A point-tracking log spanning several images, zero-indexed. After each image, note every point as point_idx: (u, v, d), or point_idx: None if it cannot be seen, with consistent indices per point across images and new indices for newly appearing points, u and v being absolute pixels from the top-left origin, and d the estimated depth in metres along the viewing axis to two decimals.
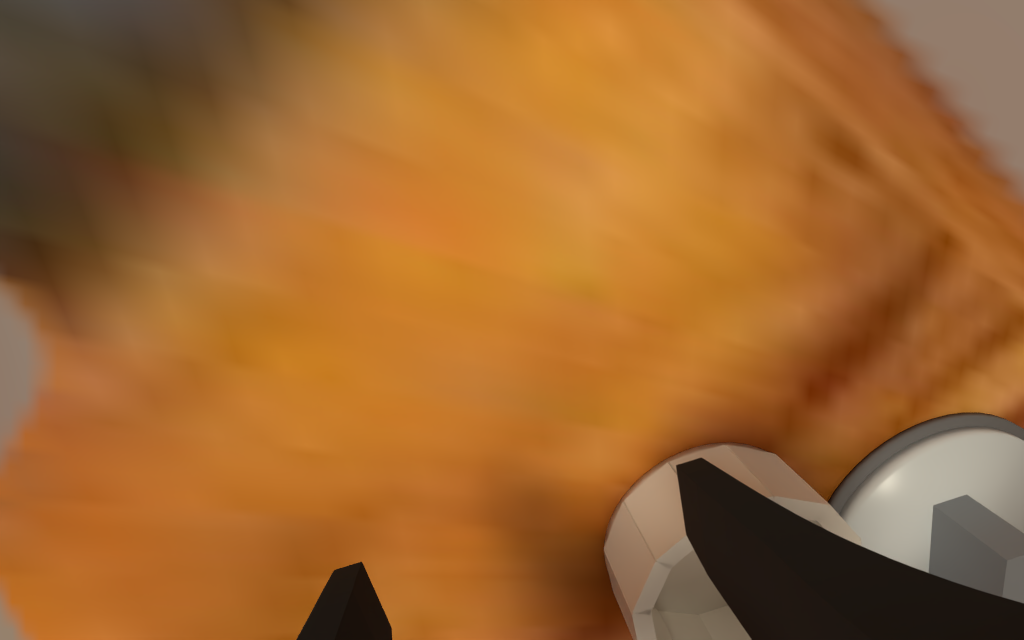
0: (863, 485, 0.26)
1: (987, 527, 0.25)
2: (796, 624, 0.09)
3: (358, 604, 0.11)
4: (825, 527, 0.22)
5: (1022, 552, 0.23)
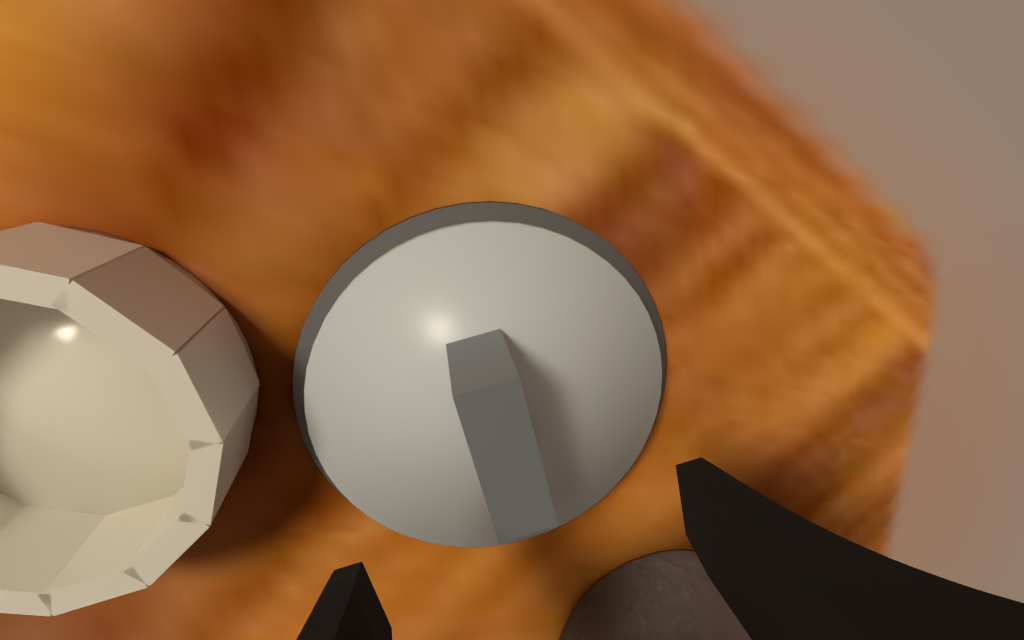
0: (329, 310, 0.17)
1: (478, 361, 0.16)
2: (796, 624, 0.09)
3: (358, 604, 0.11)
4: (84, 324, 0.13)
5: (483, 385, 0.14)
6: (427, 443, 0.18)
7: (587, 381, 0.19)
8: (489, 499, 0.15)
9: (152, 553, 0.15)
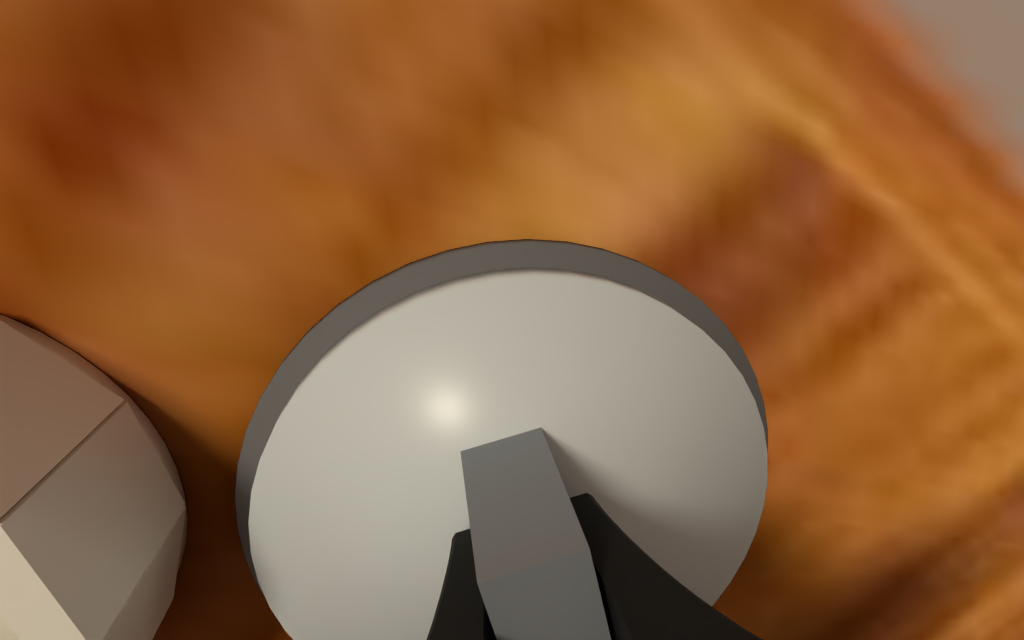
0: (287, 403, 0.11)
1: (513, 497, 0.10)
2: None
3: None
4: None
5: (528, 560, 0.09)
6: (432, 585, 0.13)
7: (662, 494, 0.13)
8: None
9: None
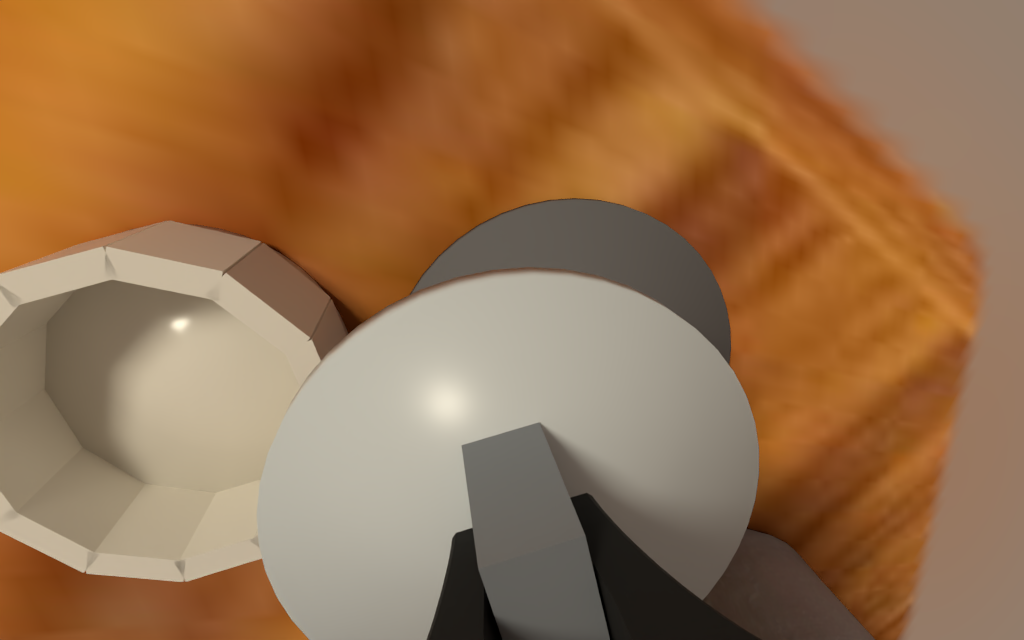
0: (293, 398, 0.12)
1: (512, 488, 0.10)
2: None
3: None
4: (233, 312, 0.14)
5: (527, 547, 0.09)
6: (434, 575, 0.13)
7: (657, 487, 0.13)
8: None
9: None
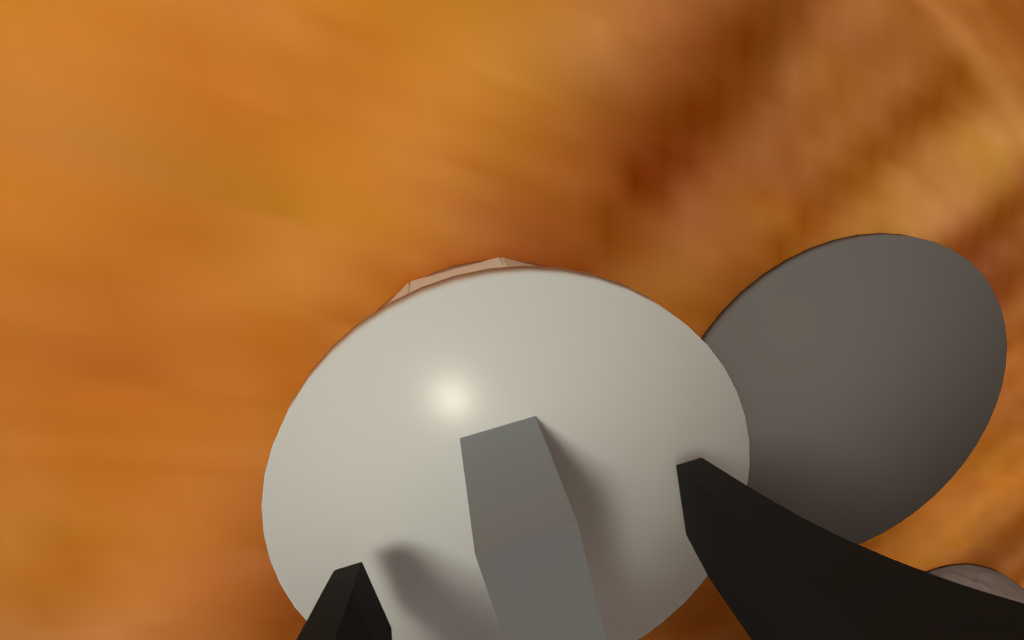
0: (297, 393, 0.12)
1: (508, 478, 0.11)
2: (796, 624, 0.09)
3: (358, 604, 0.11)
4: None
5: (522, 533, 0.09)
6: (433, 565, 0.14)
7: (650, 480, 0.14)
8: None
9: None
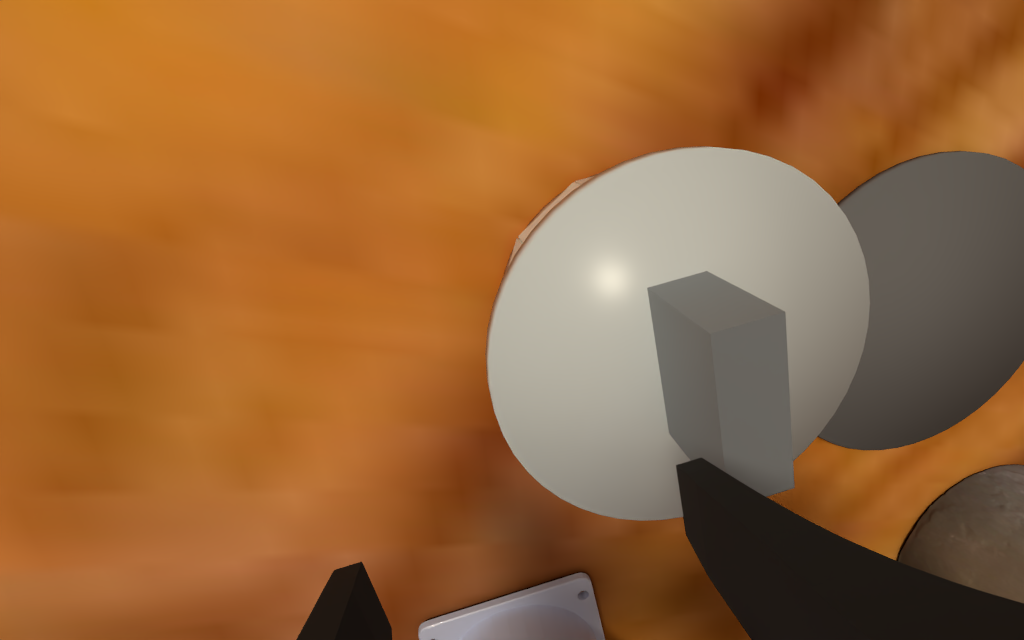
0: (520, 248, 0.15)
1: (709, 300, 0.14)
2: (796, 624, 0.09)
3: (358, 604, 0.11)
4: None
5: (742, 321, 0.12)
6: (613, 402, 0.17)
7: (789, 333, 0.17)
8: (727, 456, 0.13)
9: None
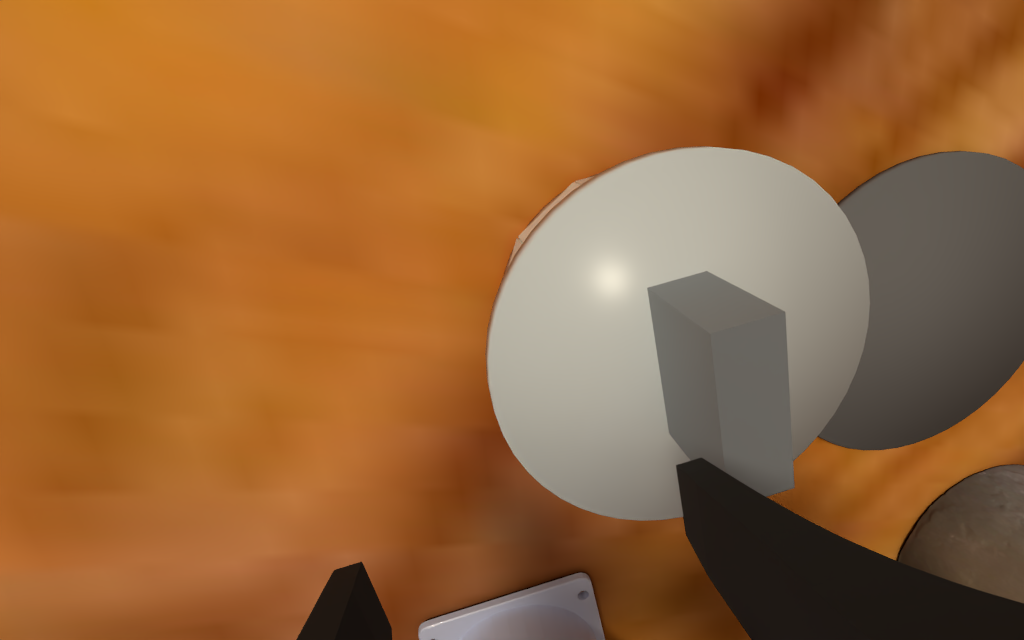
0: (520, 248, 0.15)
1: (709, 300, 0.14)
2: (796, 624, 0.09)
3: (358, 604, 0.11)
4: None
5: (742, 321, 0.12)
6: (613, 402, 0.17)
7: (789, 333, 0.17)
8: (727, 456, 0.13)
9: None
